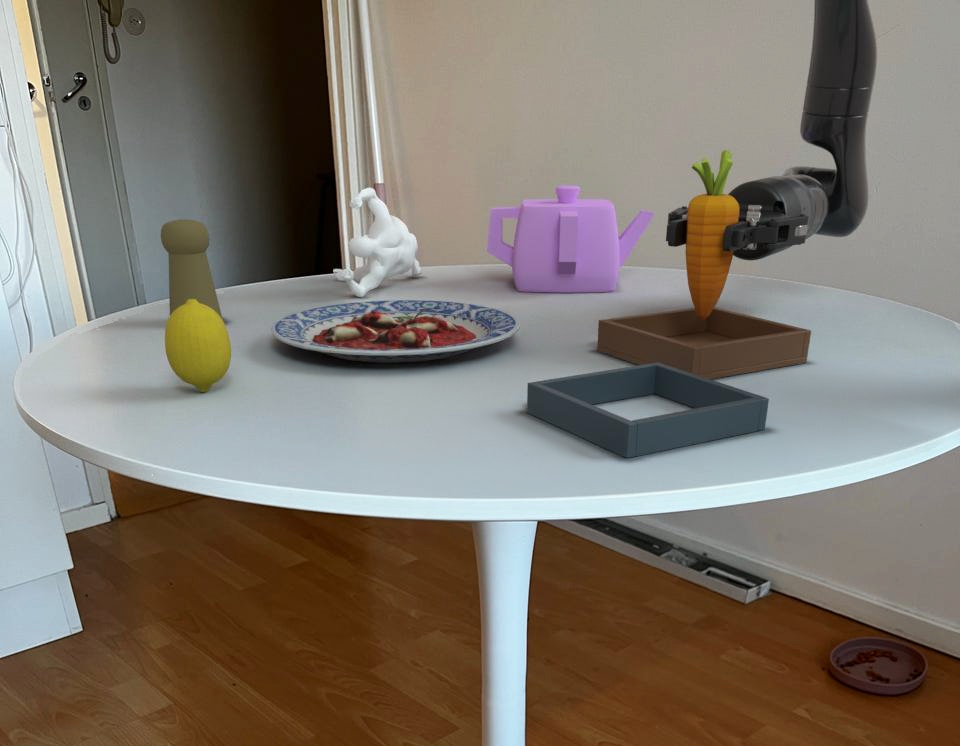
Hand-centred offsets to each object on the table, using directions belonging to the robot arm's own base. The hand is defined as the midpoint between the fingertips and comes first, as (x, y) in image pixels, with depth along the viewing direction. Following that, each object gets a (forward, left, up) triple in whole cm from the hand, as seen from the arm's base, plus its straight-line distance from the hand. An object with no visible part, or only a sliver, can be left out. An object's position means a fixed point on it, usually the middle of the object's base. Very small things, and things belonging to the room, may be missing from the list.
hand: (699, 236), depth 93 cm
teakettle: (-15, -43, -12) cm, 46 cm away
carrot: (-2, -1, -8) cm, 9 cm away
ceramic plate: (+21, -22, -12) cm, 32 cm away
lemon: (+44, -14, -12) cm, 48 cm away
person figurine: (+8, -53, -12) cm, 54 cm away
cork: (+36, -44, -12) cm, 58 cm away
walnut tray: (-2, -1, -11) cm, 12 cm away
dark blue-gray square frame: (+16, +13, -11) cm, 24 cm away
